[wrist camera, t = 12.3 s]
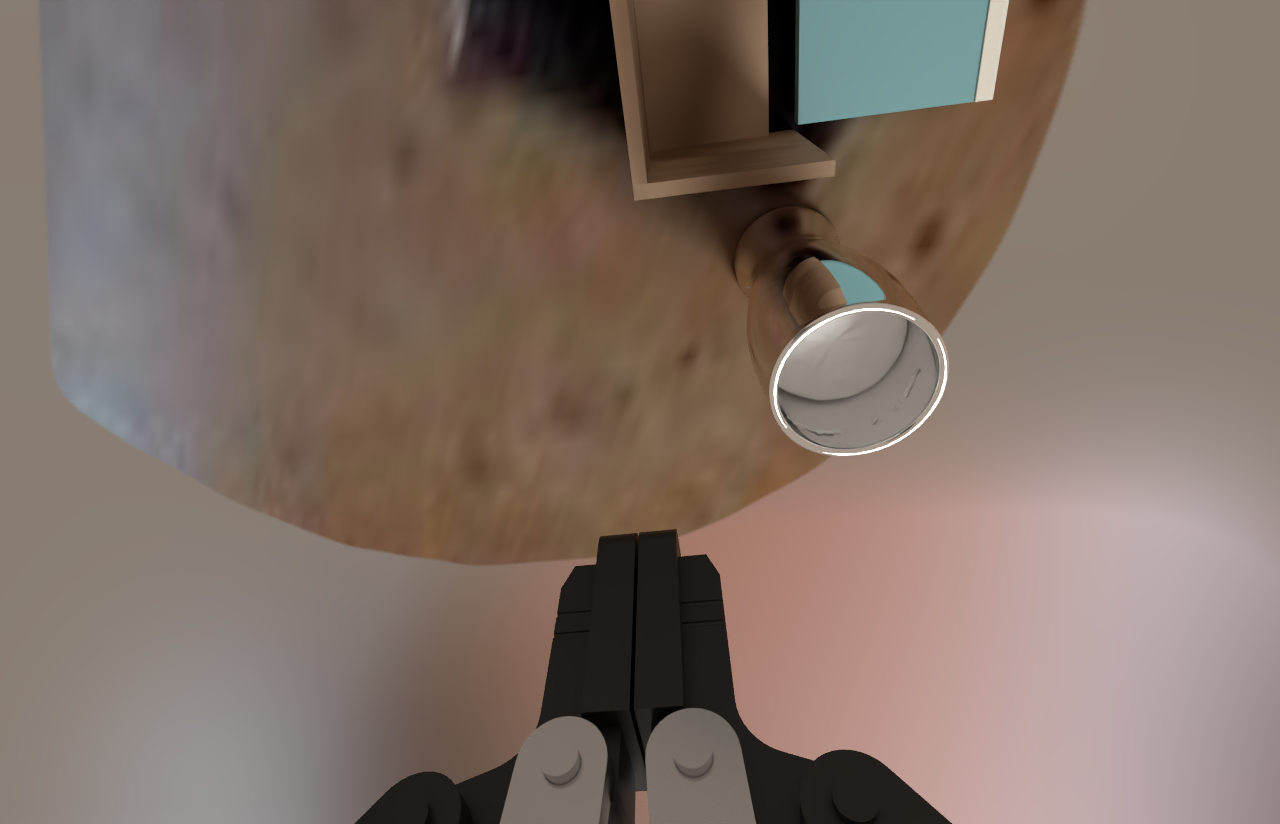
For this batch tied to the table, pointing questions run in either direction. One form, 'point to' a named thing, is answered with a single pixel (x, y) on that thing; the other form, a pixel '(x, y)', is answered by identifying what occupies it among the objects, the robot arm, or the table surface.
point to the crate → (702, 99)
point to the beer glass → (835, 338)
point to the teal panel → (894, 55)
